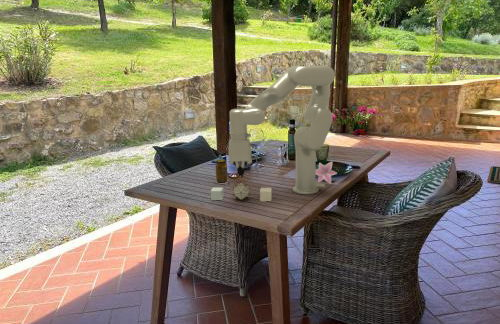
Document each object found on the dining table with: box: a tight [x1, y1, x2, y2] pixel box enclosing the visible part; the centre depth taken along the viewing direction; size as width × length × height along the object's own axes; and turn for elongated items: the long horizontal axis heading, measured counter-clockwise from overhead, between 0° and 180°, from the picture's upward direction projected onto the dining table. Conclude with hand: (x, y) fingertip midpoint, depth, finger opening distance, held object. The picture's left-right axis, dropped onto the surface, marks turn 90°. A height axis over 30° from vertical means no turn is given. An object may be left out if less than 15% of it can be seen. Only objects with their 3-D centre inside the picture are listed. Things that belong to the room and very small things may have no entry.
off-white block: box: [259, 187, 273, 202], centre depth 183 cm, size 5×5×5 cm
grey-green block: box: [210, 187, 225, 201], centre depth 185 cm, size 5×5×5 cm
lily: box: [315, 161, 338, 185], centre depth 207 cm, size 12×12×10 cm
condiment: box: [215, 159, 229, 184], centre depth 209 cm, size 7×8×12 cm
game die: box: [232, 181, 251, 202], centre depth 184 cm, size 9×8×10 cm
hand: (241, 175), depth 182 cm, fingers closed
